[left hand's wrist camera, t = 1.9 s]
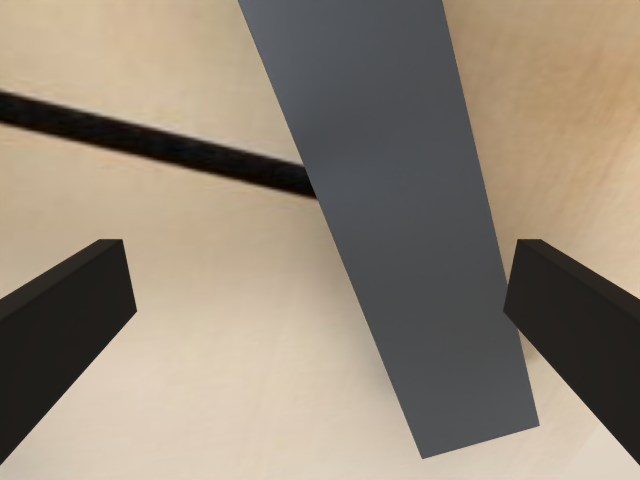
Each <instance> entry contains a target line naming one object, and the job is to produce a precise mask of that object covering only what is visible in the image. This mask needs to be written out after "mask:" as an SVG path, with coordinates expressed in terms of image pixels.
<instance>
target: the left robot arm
mask: <svg viewBox="0 0 640 480" xmlns="http://www.w3.org/2000/svg"><path fill="white" fill-rule="evenodd" d="M136 312H137V308H136V303H135V298H134V294H133V289H132V284H131V279H130V274H129V269H128V264H127V259H126V255H125V250H124V245H123V240H122V239H99V240H97V241H96V242H94V243H92V244H91V245H89V246H87V247H86V248H84V249H82V250H81V251H79V252H78V253H76V254H74V255H73V256H71V257H69V258H68V259H66V260H64V261H63V262H61V263H59V264H58V265H56V266H54V267H53V268H51V269H50V270H48V271H46V272H45V273H43V274H41V275H40V276H38V277H36V278H35V279H33V280H31V281H30V282H28V283H26V284H25V285H23V286H22V287H20V288H18V289H17V290H15V291H13V292H12V293H10V294H8V295H7V296H5V297H3V298H2V299H0V465H1V464H2V463H3V462H4V461H5V460H6V458H7V457H8V456H9V455H10V454H11V453H12V452H13V451H14V449H15V448H16V447H17V446H18V445H19V444H20V443H21V442H22V440H23V439H24V438H25V437H26V436H27V435H28V434H29V433H30V431H31V430H32V429H33V428H34V427H35V426H36V425H37V424H38V422H39V421H40V420H41V419H42V418H43V417H44V416H45V415H46V413H47V412H48V411H49V410H50V409H51V408H52V407H53V405H54V404H55V403H56V402H57V401H58V400H59V399H60V398H61V396H62V395H63V394H64V393H65V392H66V391H67V390H68V389H69V387H70V386H71V385H72V384H73V383H74V382H75V381H76V380H77V378H78V377H79V376H80V375H81V374H82V373H83V372H84V371H85V369H86V368H87V367H88V366H89V365H90V364H91V363H92V362H93V360H94V359H95V358H96V357H97V356H98V355H99V354H100V353H101V351H102V350H103V349H104V348H105V347H106V346H107V345H108V344H109V342H110V341H111V340H112V339H113V338H114V337H115V336H116V335H117V333H118V332H119V331H120V330H121V329H122V328H123V327H124V326H125V324H126V323H127V322H128V321H129V320H130V319H131V318H132V317H133V315H134V314H135V313H136ZM503 312H504V313H505V314H506V315H507V317H508V318H509V319H510V320H511V321H512V322H513V323H514V324H515V326H516V327H517V328H518V329H519V330H520V331H521V332H522V333H523V335H524V336H525V337H526V338H527V339H528V340H529V341H530V342H531V344H532V345H533V346H534V347H535V348H536V349H537V350H538V351H539V353H540V354H541V355H542V356H543V357H544V358H545V359H546V360H547V362H548V363H549V364H550V365H551V366H552V367H553V368H554V369H555V371H556V372H557V373H558V374H559V375H560V376H561V377H562V378H563V380H564V381H565V382H566V383H567V384H568V385H569V386H570V387H571V389H572V390H573V391H574V392H575V393H576V394H577V395H578V396H579V398H580V399H581V400H582V401H583V402H584V403H585V404H586V405H587V407H588V408H589V409H590V410H591V411H592V412H593V413H594V415H595V416H596V417H597V418H598V419H599V420H600V421H601V422H602V423H603V425H604V426H605V427H606V428H607V429H608V430H609V431H610V433H611V434H612V435H613V436H614V437H615V438H616V439H617V440H618V442H619V443H620V444H621V445H622V446H623V447H624V448H625V449H626V451H627V452H628V453H629V454H630V455H631V456H632V457H633V458H634V460H635V461H636V462H637V463H638V464H639V465H640V299H638V298H637V297H635V296H633V295H632V294H630V293H628V292H627V291H625V290H623V289H622V288H620V287H618V286H617V285H615V284H614V283H612V282H610V281H609V280H607V279H605V278H604V277H602V276H600V275H599V274H597V273H595V272H594V271H592V270H590V269H589V268H587V267H586V266H584V265H582V264H581V263H579V262H577V261H576V260H574V259H572V258H571V257H569V256H567V255H566V254H564V253H562V252H561V251H559V250H558V249H556V248H554V247H553V246H551V245H549V244H548V243H546V242H544V241H543V240H541V239H518V240H517V245H516V250H515V255H514V259H513V264H512V269H511V274H510V279H509V284H508V289H507V294H506V298H505V303H504V308H503Z"/></svg>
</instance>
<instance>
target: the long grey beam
mask: <svg viewBox="0 0 640 480" xmlns="http://www.w3.org/2000/svg"><path fill="white" fill-rule="evenodd" d="M238 2H239V5H240V7H241V10H242V12H243V15H244V17H245V20H246V22H247V25H248V27H249V30H250V32H251V34H252V37H253V39H254V42H255V44H256V47H257V49H258V52H259V54H260V57H261V59H262V62H263V64H264V67H265V69H266V72H267V74H268V77H269V79H270V82H271V84H272V87H273V89H274V92H275V94H276V97H277V99H278V102H279V104H280V107H281V109H282V112H283V114H284V117H285V119H286V122H287V124H288V127H289V129H290V132H291V134H292V137H293V139H294V142H295V144H296V147H297V149H298V151H299V154H300V156H301V159H302V161H303V164H304V166H305V169H306V171H307V174H308V176H309V179H310V181H311V184H312V186H313V189H314V191H315V194H316V196H317V199H318V201H319V204H320V206H321V209H322V211H323V214H324V216H325V219H326V221H327V224H328V226H329V229H330V231H331V234H332V236H333V239H334V241H335V244H336V246H337V249H338V251H339V254H340V256H341V259H342V261H343V264H344V266H345V268H346V271H347V273H348V276H349V278H350V281H351V283H352V286H353V288H354V291H355V293H356V296H357V298H358V301H359V303H360V306H361V308H362V311H363V313H364V316H365V318H366V321H367V323H368V326H369V328H370V331H371V333H372V336H373V338H374V341H375V343H376V346H377V348H378V351H379V353H380V356H381V358H382V361H383V363H384V366H385V368H386V371H387V373H388V376H389V378H390V381H391V383H392V385H393V388H394V390H395V393H396V395H397V398H398V400H399V403H400V405H401V408H402V410H403V413H404V415H405V418H406V420H407V423H408V425H409V428H410V430H411V433H412V435H413V438H414V440H415V443H416V445H417V448H418V450H419V453H420V455H421V458H422V459H425V458H428V457H432V456H435V455H439V454H442V453H446V452H449V451H453V450H456V449H460V448H463V447H467V446H470V445H474V444H478V443H481V442H485V441H488V440H492V439H495V438H499V437H502V436H506V435H509V434H513V433H516V432H520V431H523V430H527V429H530V428H534V427H537V426H540V425H539V420H538V416H537V412H536V407H535V403H534V399H533V394H532V390H531V386H530V381H529V377H528V372H527V368H526V364H525V359H524V355H523V351H522V346H521V342H520V338H519V333H518V329H517V327H516V326H515V324H514V323H513V322H512V321H511V320H510V319H509V318H508V317H507V315H506V314H505V313H504V312H503V308H504V303H505V298H506V294H507V289H508V286H507V281H506V277H505V273H504V268H503V264H502V260H501V255H500V251H499V247H498V242H497V238H496V234H495V229H494V225H493V221H492V216H491V212H490V208H489V203H488V199H487V195H486V190H485V186H484V182H483V177H482V173H481V168H480V164H479V160H478V155H477V151H476V147H475V142H474V138H473V134H472V129H471V125H470V121H469V116H468V112H467V108H466V103H465V99H464V95H463V90H462V86H461V82H460V77H459V73H458V69H457V64H456V60H455V56H454V51H453V47H452V43H451V38H450V34H449V30H448V25H447V21H446V17H445V12H444V8H443V4H442V0H238Z"/></svg>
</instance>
